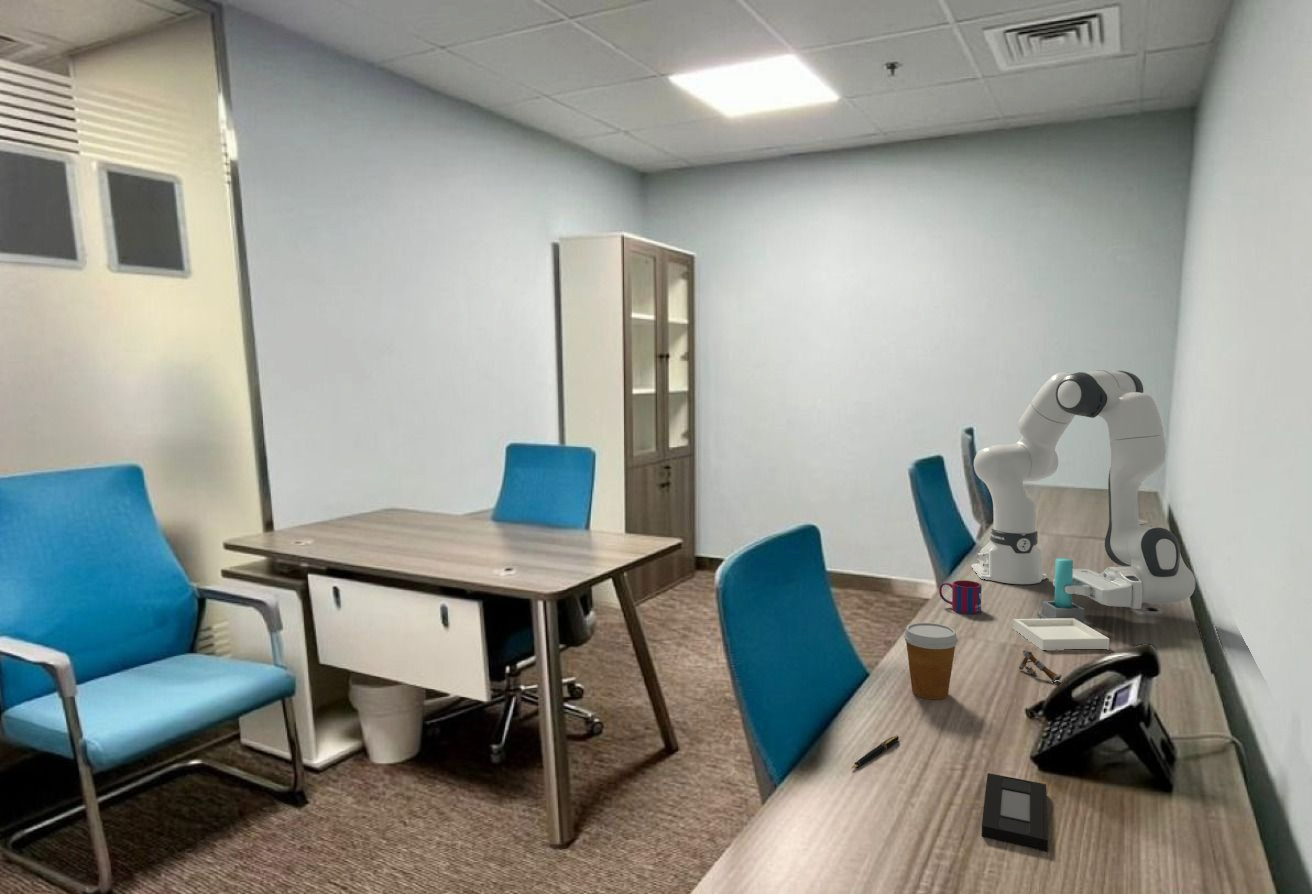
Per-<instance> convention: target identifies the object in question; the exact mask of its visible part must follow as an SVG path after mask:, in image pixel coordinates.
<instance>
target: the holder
mask: <svg viewBox="0 0 1312 894" xmlns="http://www.w3.org/2000/svg"><path fill="white" fill-rule="evenodd" d="M1054 604H1055V600H1044V601H1043V600H1042V601H1041V612H1040V613H1039V612H1038V613H1037V616H1038V619H1040V618H1041V619H1051V618H1075V619H1076V620H1078V621H1080V622H1082V623H1083V624H1085V625H1087V626H1089V627H1090V623H1089V622H1088V621H1086V620H1085V618H1086V617H1085V615H1086V614H1085V613H1086V612H1085V611H1086V609H1085V608H1083V607H1082V606H1080V605H1078V604H1076V603H1075V602H1073V601H1072V608H1056V607H1055V606H1054Z"/></svg>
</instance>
